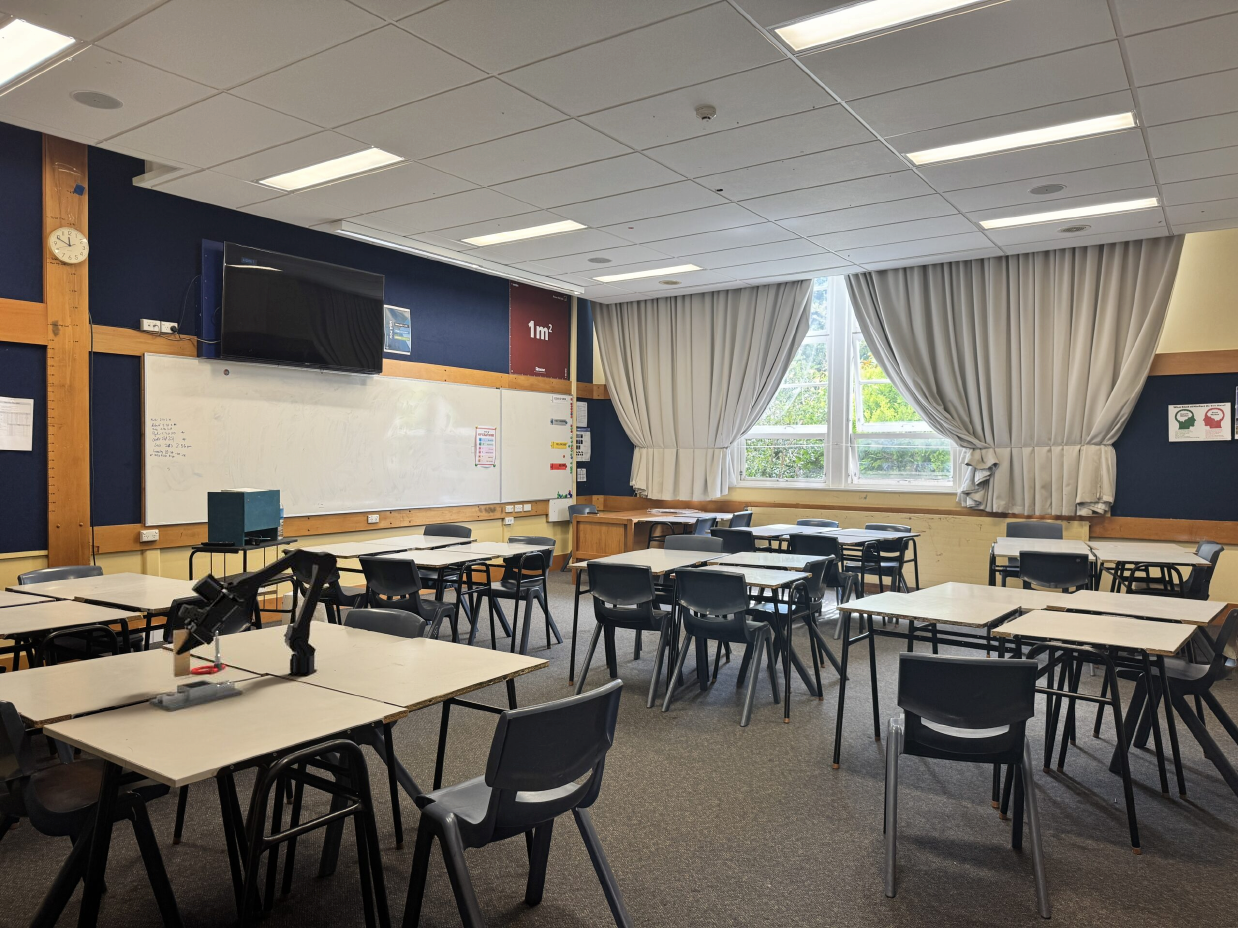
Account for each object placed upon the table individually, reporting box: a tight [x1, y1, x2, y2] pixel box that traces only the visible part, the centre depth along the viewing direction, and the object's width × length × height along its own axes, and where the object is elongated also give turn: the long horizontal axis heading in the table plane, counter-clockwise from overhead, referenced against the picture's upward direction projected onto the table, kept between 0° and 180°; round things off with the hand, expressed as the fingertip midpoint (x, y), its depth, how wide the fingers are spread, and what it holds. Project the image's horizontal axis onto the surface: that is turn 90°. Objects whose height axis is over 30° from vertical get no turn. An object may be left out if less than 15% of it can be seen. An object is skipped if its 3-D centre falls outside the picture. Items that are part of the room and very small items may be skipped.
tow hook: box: [190, 630, 227, 675], centre depth 254 cm, size 8×13×9 cm
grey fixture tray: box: [148, 679, 244, 712], centre depth 223 cm, size 20×12×4 cm, turn 146°
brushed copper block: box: [172, 628, 191, 678], centre depth 232 cm, size 4×4×13 cm
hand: (176, 653), depth 231 cm, fingers closed on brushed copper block, 3 cm apart
